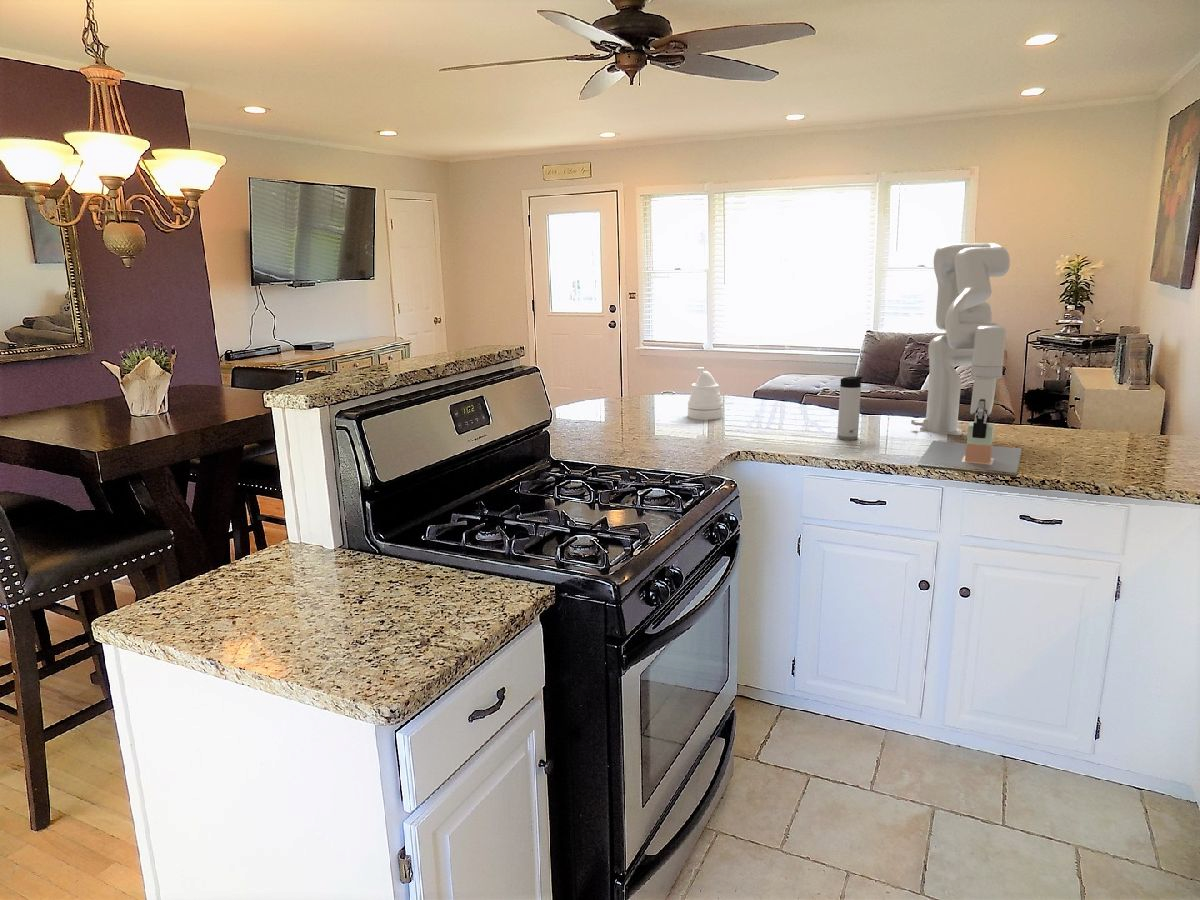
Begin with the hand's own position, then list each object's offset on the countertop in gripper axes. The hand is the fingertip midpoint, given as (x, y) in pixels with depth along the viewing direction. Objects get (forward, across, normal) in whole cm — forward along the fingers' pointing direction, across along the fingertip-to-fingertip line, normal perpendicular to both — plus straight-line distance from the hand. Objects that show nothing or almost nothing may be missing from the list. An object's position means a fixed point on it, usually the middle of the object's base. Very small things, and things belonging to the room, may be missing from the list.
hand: (980, 434), depth 215 cm
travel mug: (+9, -18, -39) cm, 44 cm away
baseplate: (+8, -5, -2) cm, 10 cm away
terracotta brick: (+7, 0, 0) cm, 7 cm away
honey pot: (+9, -33, -94) cm, 100 cm away
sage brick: (+2, 0, 0) cm, 2 cm away
